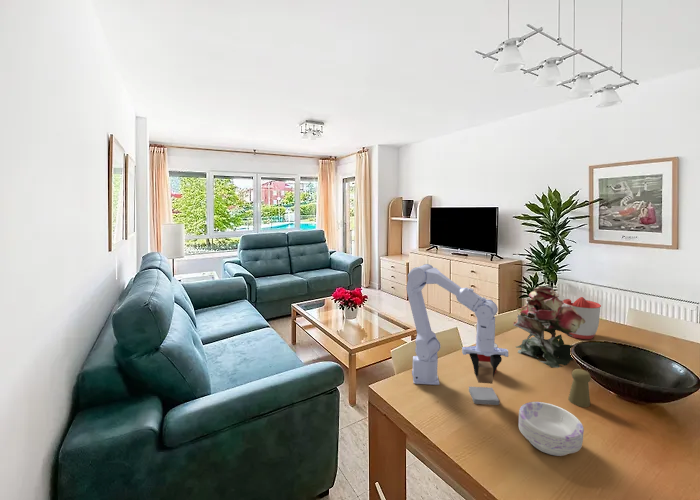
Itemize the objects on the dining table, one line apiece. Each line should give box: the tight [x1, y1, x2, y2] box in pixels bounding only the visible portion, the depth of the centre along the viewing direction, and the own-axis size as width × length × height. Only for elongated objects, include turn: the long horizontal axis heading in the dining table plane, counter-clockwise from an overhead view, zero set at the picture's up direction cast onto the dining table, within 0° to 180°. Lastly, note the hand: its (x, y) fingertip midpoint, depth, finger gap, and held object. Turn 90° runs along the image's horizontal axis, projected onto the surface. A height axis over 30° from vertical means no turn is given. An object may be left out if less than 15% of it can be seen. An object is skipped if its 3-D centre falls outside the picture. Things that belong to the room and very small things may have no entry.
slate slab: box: [468, 386, 500, 406], centre depth 113 cm, size 8×8×2 cm
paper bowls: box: [518, 401, 585, 457], centre depth 91 cm, size 15×15×8 cm
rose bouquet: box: [513, 285, 585, 369], centre depth 147 cm, size 26×29×30 cm
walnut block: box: [475, 361, 494, 384], centre depth 112 cm, size 4×4×6 cm
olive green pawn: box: [568, 368, 592, 408], centre depth 109 cm, size 6×6×11 cm
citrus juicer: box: [562, 296, 602, 340], centre depth 165 cm, size 16×17×20 cm
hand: (483, 374), depth 112 cm, fingers closed on walnut block, 4 cm apart
